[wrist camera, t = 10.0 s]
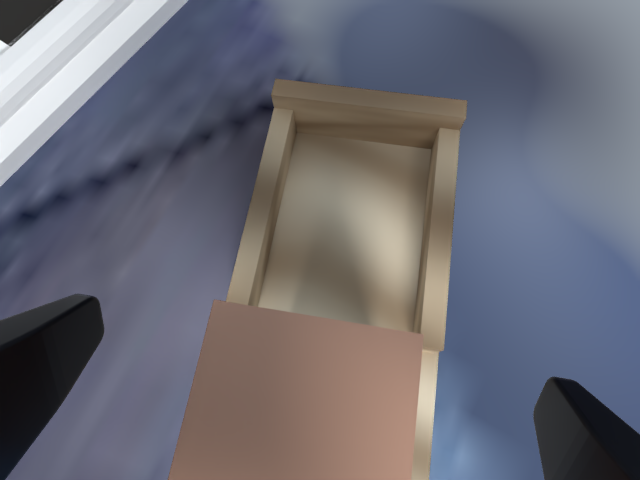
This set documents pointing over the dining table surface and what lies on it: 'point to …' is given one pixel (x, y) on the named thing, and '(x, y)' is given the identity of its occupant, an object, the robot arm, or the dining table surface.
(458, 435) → the dining table surface
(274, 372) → the block
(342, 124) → the tray
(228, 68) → the dining table surface
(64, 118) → the chess set
